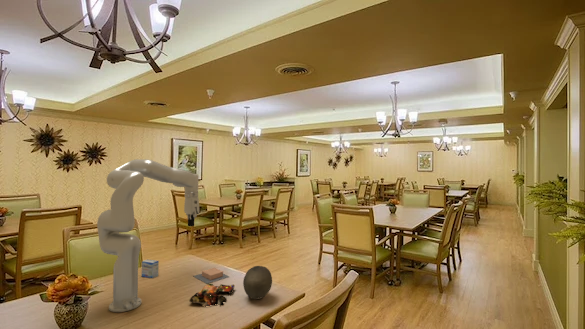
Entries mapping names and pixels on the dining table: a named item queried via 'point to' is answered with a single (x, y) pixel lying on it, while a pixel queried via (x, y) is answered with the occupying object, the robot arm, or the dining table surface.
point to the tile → (212, 273)
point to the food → (208, 290)
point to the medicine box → (150, 268)
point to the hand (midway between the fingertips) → (191, 225)
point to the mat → (208, 279)
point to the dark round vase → (257, 282)
